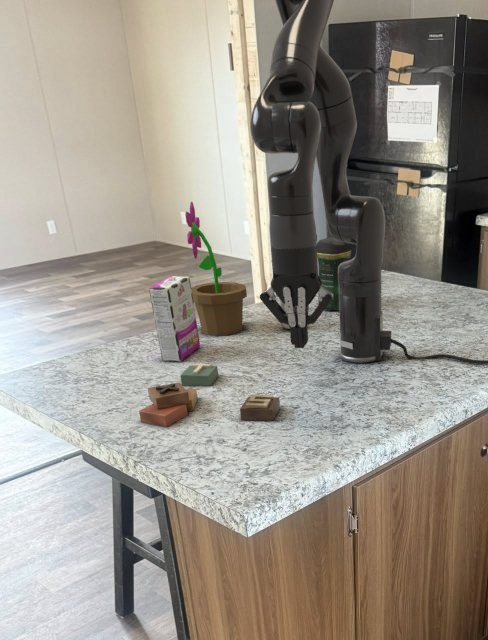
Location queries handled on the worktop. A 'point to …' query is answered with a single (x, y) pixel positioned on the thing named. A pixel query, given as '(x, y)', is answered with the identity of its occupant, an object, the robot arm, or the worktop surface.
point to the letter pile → (168, 404)
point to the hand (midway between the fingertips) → (300, 346)
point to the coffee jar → (331, 266)
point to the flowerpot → (214, 290)
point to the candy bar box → (175, 318)
